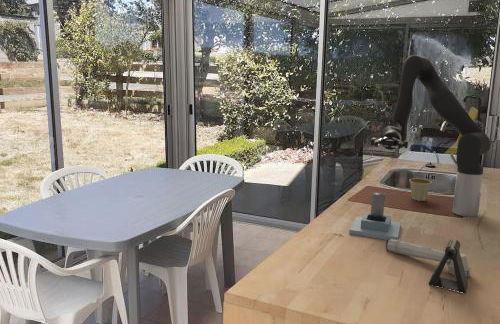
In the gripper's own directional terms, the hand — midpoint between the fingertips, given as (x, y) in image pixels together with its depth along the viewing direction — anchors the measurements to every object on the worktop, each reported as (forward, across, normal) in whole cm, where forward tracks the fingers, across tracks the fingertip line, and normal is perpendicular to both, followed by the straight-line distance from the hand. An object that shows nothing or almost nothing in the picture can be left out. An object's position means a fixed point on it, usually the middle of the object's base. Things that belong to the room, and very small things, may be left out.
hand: (387, 145), depth 166 cm
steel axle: (+20, 0, +26) cm, 33 cm away
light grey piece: (+42, +17, +28) cm, 53 cm away
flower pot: (-29, +13, +28) cm, 42 cm away
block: (+20, 0, +28) cm, 34 cm away
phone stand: (+54, +23, +28) cm, 65 cm away
